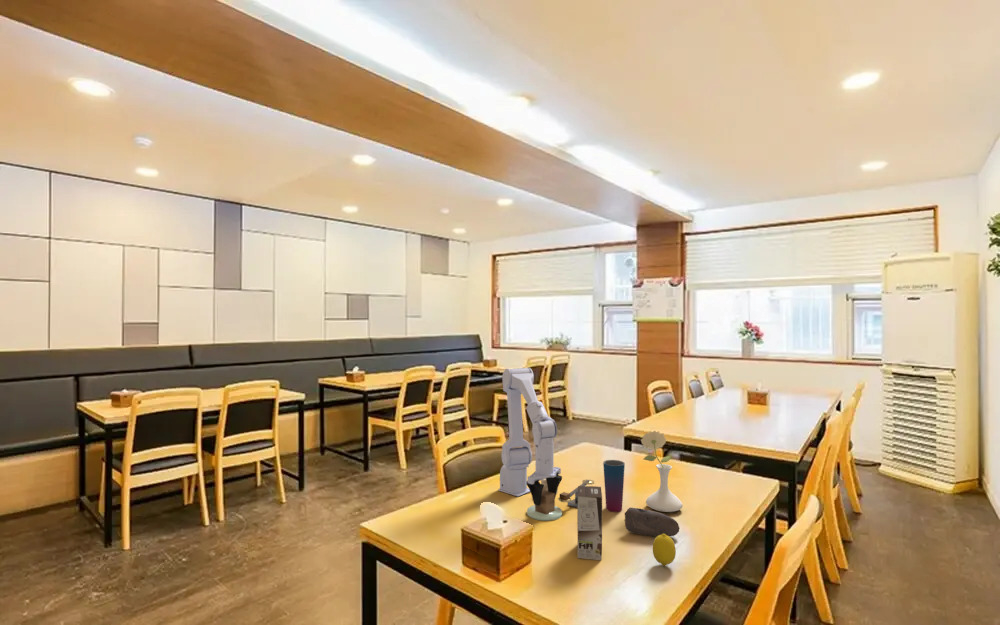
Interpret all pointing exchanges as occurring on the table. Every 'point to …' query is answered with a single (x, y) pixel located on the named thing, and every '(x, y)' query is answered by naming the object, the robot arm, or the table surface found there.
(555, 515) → the dish
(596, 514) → the coffee box
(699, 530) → the table surface
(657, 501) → the flower in vase
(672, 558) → the lemon
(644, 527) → the perforated stone tool
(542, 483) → the maple block
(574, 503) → the balance
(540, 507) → the walnut block
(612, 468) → the cup
